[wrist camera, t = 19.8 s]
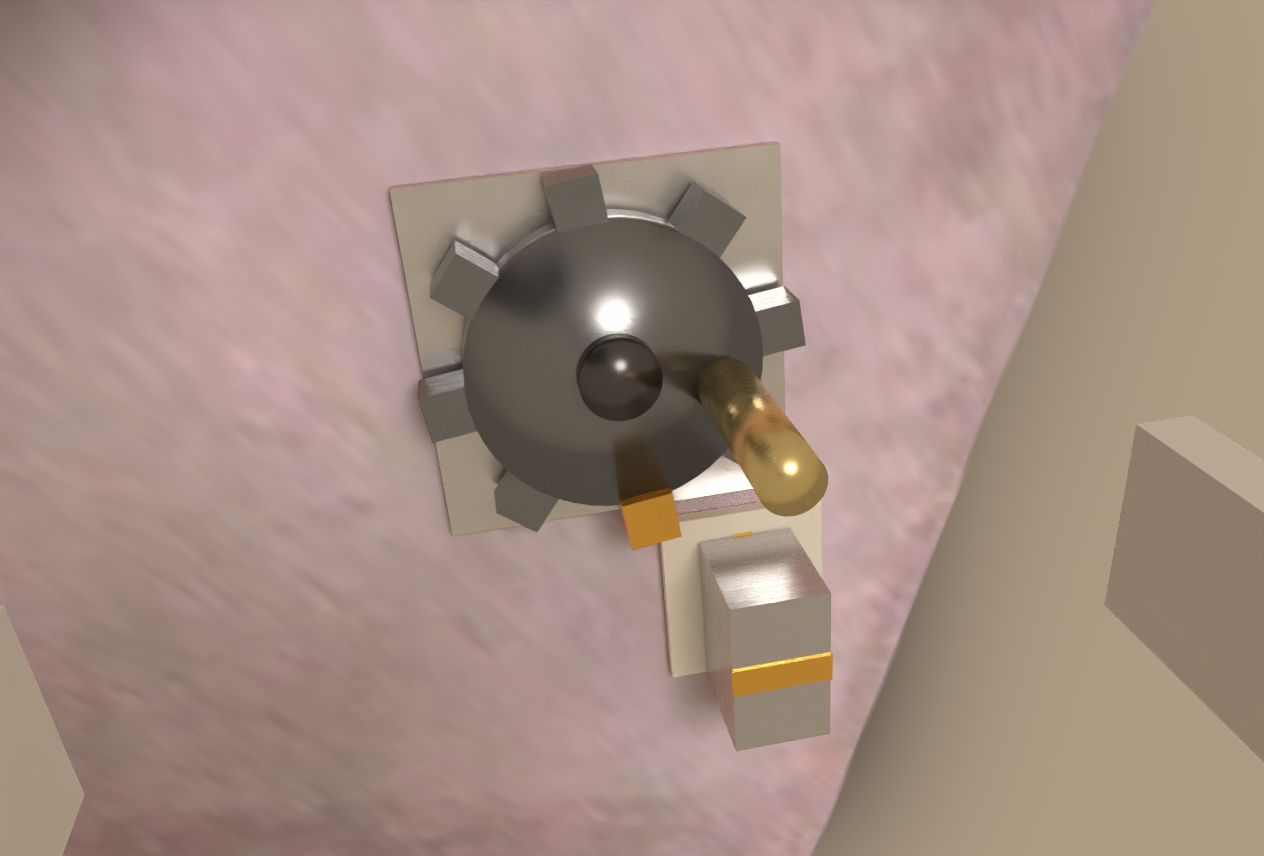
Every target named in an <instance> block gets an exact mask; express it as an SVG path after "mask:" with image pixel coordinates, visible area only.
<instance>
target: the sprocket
mask: <svg viewBox="0 0 1264 856" xmlns="http://www.w3.org/2000/svg"><path fill="white" fill-rule="evenodd" d="M541 178H542V182H543V186H544V190H545V194H546V199H547V203H548V207H549V211H550V215H551V219H552V222H551V223H549V224H547V225H544V226H542V227H540V228H538V229H537V230H535V231H534V232H532V233H530V234H529V235H527V236H526V237H524V238H522V239H521V240H520V241H519V242H518V243H516V244H515V245H514V246H513V247H512V248H510V249H509V250H508V251H507V252H506V253H505V254H504V255H503V256H502V257H501V258H500V259H499V260H498V262H497V263H494V262H492V261H491V260H489V259H487V258H485V257H484V256H482V255H480V254H478V253H477V252H475V251H473V250H471V249H470V248H468V247H466V246H464V245H463V244H461V243H459V242H457V241H454V242H453V244H452V246H451V247H450V249H449V251H448V253H447V254H446V256H445V258H444V259H443V261H442V263H441V265H440V266H439V268H438V270H437V271H436V273H435V275H434V277H433V278H432V280H431V282H430V298H431V299H433V300H435V301H436V302H438V303H440V304H442V305H444V306H446V307H448V308H449V309H451V310H453V311H455V312H457V313H459V314H460V315H462V316H464V317H466V318H467V319H466V324H465V329H464V334H463V345H462V361H463V369H461V370H457V371H453V372H449V373H445V374H441V375H437V376H434V377H430V378H426V379H422V380H419V389H418V400H419V403H420V406H421V409H422V412H423V415H424V418H425V421H426V424H427V427H428V430H429V433H430V436H431V439H432V443H435V442H438V441H442V440H446V439H450V438H454V437H457V436H461V435H465V434H469V433H473V432H476V431H478V433H479V435H480V437H481V439H482V440H483V442H484V444H485V445H486V446H487V448H488V449H489V451H490V452H491V453H492V455H493V456H494V457H495V458H496V459H497V460H498V461H499V462H500V463H501V464H502V465H503V466H504V467H505V468H506V469H507V472H506V473H505V475H504V476H503V478H502V479H501V481H500V482H499V484H498V486H497V487H496V489H495V490H494V496H495V505H496V513H497V514H499V515H501V516H503V517H506V518H508V519H510V520H512V521H514V522H516V523H518V524H521V525H523V526H525V527H527V528H529V529H531V530H533V531H535V532H538V530H539V529H540V527H541V526H542V524H543V523H544V521H545V520H546V518H547V517H548V515H549V514H550V512H551V511H552V509H553V508H554V506H555V505H556V503H557V502H558V500H559V499H561V500H565V501H568V502H572V503H578V504H585V505H595V506H614V505H619V508H620V512H621V516H622V520H623V523H624V526H625V529H626V532H627V535H628V538H629V541H630V544H631V547H632V550H635V549H638V548H642V547H646V546H649V545H653V544H657V543H660V542H664V541H668V540H671V539H675V538H679V537H682V535H681V530H680V526H679V521H678V516H677V512H676V507H675V503H674V498H673V493H672V491H673V490H675V489H677V488H679V487H681V486H683V485H684V484H686V483H688V482H689V481H691V480H693V479H694V478H696V477H697V476H699V475H700V474H701V473H703V472H704V471H705V470H706V469H708V468H709V467H710V466H711V465H712V464H714V463H715V462H716V461H717V460H718V459H719V458H720V457H721V456H724V457H726V458H727V459H729V460H731V461H733V462H735V463H737V464H739V466H740V467H741V469H742V471H743V473H744V474H745V476H746V478H747V479H748V481H749V483H750V484H751V486H752V488H753V489H754V491H755V493H756V494H757V496H758V498H759V499H760V501H761V503H762V504H763V506H764V507H765V508H766V509H767V510H768V511H770V512H771V513H773V514H776V515H779V516H785V517H790V516H797V515H800V514H803V513H805V512H807V511H809V510H810V509H812V508H813V507H814V506H815V505H816V504H818V502H819V501H820V500H821V499H822V497H823V495H824V494H825V491H826V489H827V484H828V474H827V470H826V468H825V466H824V464H823V463H822V462H821V460H820V459H819V458H818V456H817V455H816V454H815V452H814V451H813V450H812V449H811V447H810V446H809V445H808V443H807V442H806V441H805V439H804V438H803V437H802V435H801V434H800V433H799V432H798V430H797V429H796V428H795V426H794V425H793V424H792V422H791V421H790V420H789V418H788V417H787V416H786V415H785V413H784V412H783V411H782V409H781V408H780V407H779V405H778V404H777V403H776V401H775V400H774V399H773V398H772V396H771V395H770V394H769V392H768V391H767V390H766V388H765V387H764V386H763V384H762V383H761V382H760V381H761V376H762V368H763V356H766V355H770V354H774V353H778V352H782V351H785V350H789V349H793V348H797V347H801V346H804V345H805V338H804V330H803V323H802V316H801V309H800V302H799V300H798V299H797V298H796V297H795V296H794V295H793V294H792V293H791V292H790V291H789V290H788V289H787V288H786V287H785V286H783V287H779V288H775V289H771V290H767V291H763V292H759V293H755V294H752V295H748V294H747V292H746V290H745V288H744V286H743V285H742V283H741V282H740V281H739V279H738V278H737V277H736V275H735V274H734V273H733V271H732V270H731V269H730V268H729V267H728V266H727V265H726V264H725V263H724V261H723V260H722V259H721V258H720V257H721V255H722V254H723V252H724V251H725V249H726V248H727V246H728V245H729V243H730V242H731V240H732V239H733V237H734V236H735V234H736V233H737V231H738V230H739V228H740V227H741V225H742V224H743V222H744V221H745V219H746V218H747V217H746V216H744V215H743V214H742V213H741V212H740V211H738V210H737V209H736V208H735V207H734V206H732V205H731V204H729V203H728V202H726V201H725V200H723V199H721V198H720V197H718V196H717V195H715V194H714V193H712V192H711V191H709V190H708V189H706V188H705V187H703V186H702V185H700V184H699V183H697V182H695V181H693V182H692V184H691V185H690V187H689V188H688V190H687V192H686V193H685V195H684V196H683V198H682V199H681V201H680V202H679V204H678V206H677V207H676V209H675V210H674V212H673V213H672V215H671V216H670V218H669V220H666V219H664V218H661V217H659V216H656V215H652V214H648V213H643V212H639V211H632V210H621V209H606V206H605V202H604V197H603V193H602V188H601V184H600V179H599V175H598V172H597V171H596V170H595V168H594V167H593V166H592V164H588V165H584V166H580V167H576V168H572V169H568V170H563V171H559V172H555V173H551V174H547V175H543V176H541Z"/></svg>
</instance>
